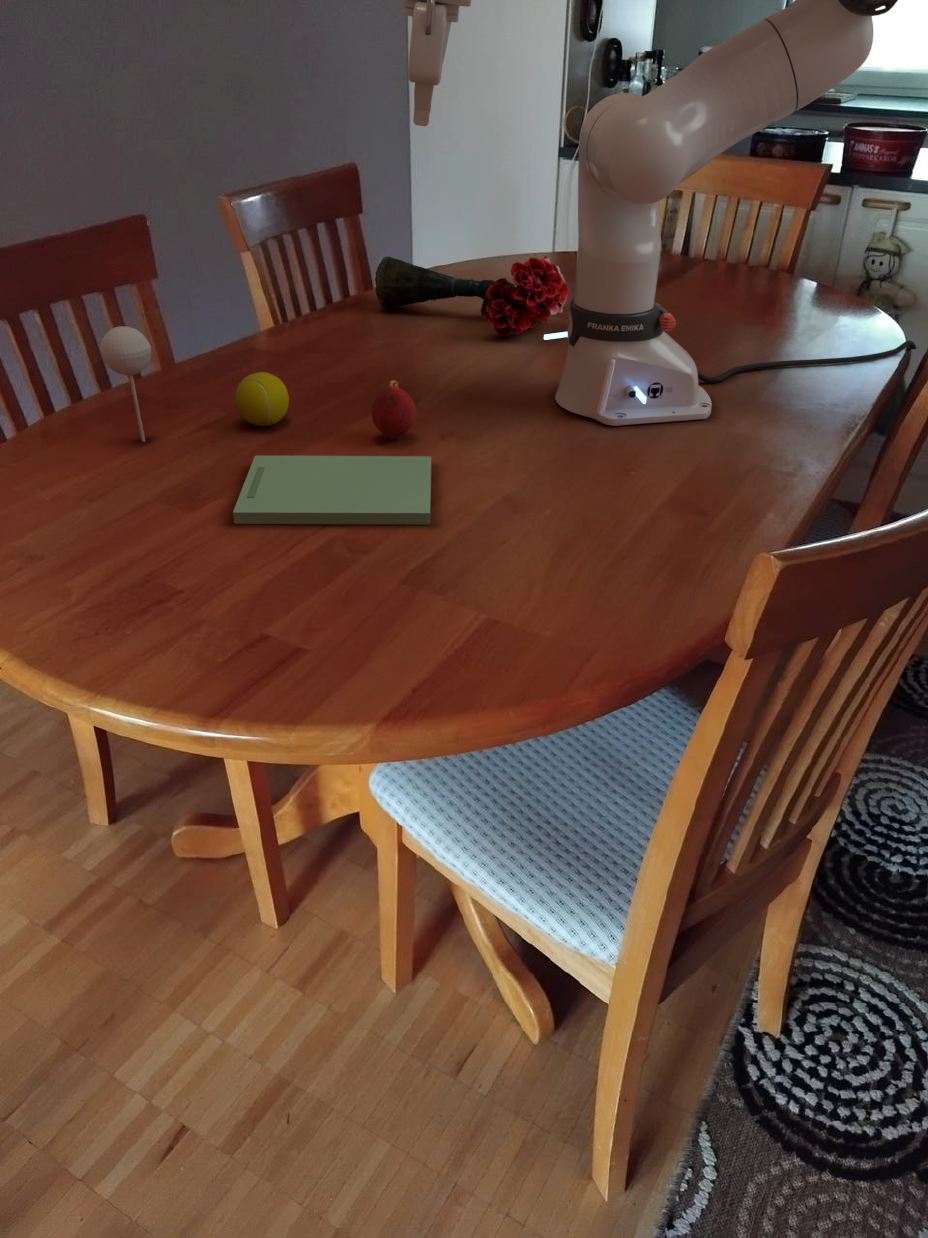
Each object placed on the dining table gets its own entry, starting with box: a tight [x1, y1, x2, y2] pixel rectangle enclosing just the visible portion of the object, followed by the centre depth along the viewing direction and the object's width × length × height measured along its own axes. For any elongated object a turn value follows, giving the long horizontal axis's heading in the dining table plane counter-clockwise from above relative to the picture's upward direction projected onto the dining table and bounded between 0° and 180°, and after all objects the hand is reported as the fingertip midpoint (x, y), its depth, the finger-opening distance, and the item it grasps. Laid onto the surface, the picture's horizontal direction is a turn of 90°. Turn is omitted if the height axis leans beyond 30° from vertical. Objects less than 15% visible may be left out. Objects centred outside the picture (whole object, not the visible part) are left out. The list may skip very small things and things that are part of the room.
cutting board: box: [232, 454, 432, 526], centre depth 111 cm, size 22×15×2 cm
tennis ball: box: [234, 371, 290, 427], centre depth 127 cm, size 7×7×7 cm
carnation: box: [374, 255, 570, 338], centre depth 164 cm, size 16×18×35 cm
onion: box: [371, 379, 417, 441], centre depth 123 cm, size 6×6×8 cm
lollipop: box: [99, 325, 152, 443], centre depth 119 cm, size 6×6×15 cm
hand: (421, 119), depth 114 cm, fingers open, 8 cm apart
